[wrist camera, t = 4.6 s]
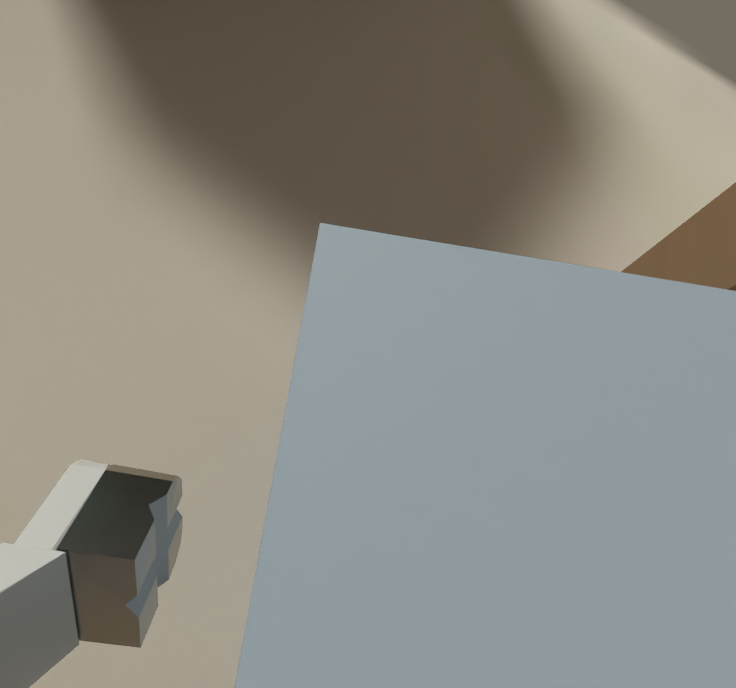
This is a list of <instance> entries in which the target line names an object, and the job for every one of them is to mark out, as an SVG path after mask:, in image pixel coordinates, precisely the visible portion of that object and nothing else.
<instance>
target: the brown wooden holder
mask: <svg viewBox="0 0 736 688" xmlns="http://www.w3.org/2000/svg"><path fill="white" fill-rule="evenodd" d="M622 272H623V273H629V274H635V275H641V276H647V277H654V278H660V279H666V280H672V281H678V282H684V283H690V284H696V285H702V286H708V287H715V288H721V289H727V290H733V291H736V183H734V184H733V185H732V186H731V187H729V188H728V189H727V190H725V191H724V192H723V193H722V194H720V195H719V196H718V197H716V198H715V199H714V200H713V201H711V202H710V203H709V204H707V205H706V206H705V207H704V208H702V209H701V210H700V211H699V212H697V213H696V214H695V215H693V216H692V217H691V218H690V219H688V220H687V221H686V222H684V223H683V224H682V225H681V226H679V227H678V228H677V229H675V230H674V231H673V232H672V233H670V234H669V235H668V236H666V237H665V238H664V239H663V240H661V241H660V242H659V243H657V244H656V245H655V246H654V247H652V248H651V249H650V250H649V251H647V252H646V253H645V254H643V255H642V256H641V257H640V258H638V259H637V260H636V261H634V262H633V263H632V264H631V265H629V266H628V267H627V268H625V269H624V270H623V271H622Z"/></svg>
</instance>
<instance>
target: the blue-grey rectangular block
mask: <svg viewBox="0 0 736 688" xmlns="http://www.w3.org/2000/svg"><path fill="white" fill-rule="evenodd" d="M234 688H736V291H733V290H727V289H721V288H715V287H708V286H702V285H696V284H690V283H684V282H678V281H672V280H666V279H660V278H654V277H647V276H641V275H635V274H629V273H623V272H617V271H611V270H605V269H599V268H592V267H586V266H580V265H574V264H568V263H562V262H556V261H550V260H544V259H538V258H531V257H525V256H519V255H513V254H507V253H501V252H495V251H489V250H483V249H477V248H470V247H464V246H458V245H452V244H446V243H440V242H434V241H428V240H422V239H416V238H409V237H403V236H397V235H391V234H385V233H379V232H373V231H367V230H361V229H355V228H348V227H342V226H336V225H330V224H324V223H320V225H319V231H318V236H317V241H316V247H315V252H314V258H313V263H312V269H311V274H310V280H309V285H308V290H307V296H306V301H305V307H304V312H303V318H302V323H301V328H300V334H299V339H298V345H297V350H296V356H295V361H294V366H293V372H292V377H291V383H290V388H289V394H288V399H287V404H286V410H285V415H284V421H283V426H282V432H281V437H280V443H279V448H278V453H277V459H276V464H275V470H274V475H273V481H272V486H271V491H270V497H269V502H268V508H267V513H266V519H265V524H264V529H263V535H262V540H261V546H260V551H259V557H258V562H257V568H256V573H255V578H254V584H253V589H252V595H251V600H250V606H249V611H248V616H247V622H246V627H245V633H244V638H243V644H242V649H241V654H240V660H239V665H238V671H237V676H236V682H235V687H234Z"/></svg>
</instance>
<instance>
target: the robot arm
mask: <svg viewBox="0 0 736 688" xmlns="http://www.w3.org/2000/svg"><path fill="white" fill-rule="evenodd" d="M181 497H182V480H181V478H180V477H178V476H175V475H169V474H163V473H158V472H152V471H147V470H141V469H136V468H130V467H124V466H119V465H109V464H104V463H98V462H93V461H87V460H82V459H78V460H77V461H75V462H74V463H72V464H71V465H70V466H69V467H68V468H67V470H66V471H65V472H64V474H63V475H62V477H61V478H60V479H59V481H58V482H57V484H56V485H55V486H54V488H53V489H52V491H51V492H50V493H49V495H48V496H47V498H46V499H45V500H44V502H43V503H42V505H41V506H40V507H39V509H38V510H37V512H36V513H35V514H34V516H33V517H32V519H31V520H30V521H29V523H28V524H27V526H26V527H25V528H24V530H23V531H22V533H21V534H20V535H19V537H18V538H17V540H16V541H15V542H14V544H10V543H1V544H0V688H29V687H30V686H31V685H32V684H33V683H35V682H36V681H37V680H38V679H39V678H40V677H42V676H43V675H44V674H45V673H46V672H47V671H49V670H50V669H51V668H52V667H53V666H54V665H56V664H57V663H58V662H59V661H60V660H61V659H63V658H64V657H65V656H66V655H67V654H68V653H70V652H71V651H72V650H73V649H74V648H75V647H77V646H78V645H79V640H80V641H88V642H97V643H105V644H114V645H122V646H131V647H139V648H141V646H142V643H143V641H144V638H145V636H146V633H147V631H148V629H149V626H150V624H151V621H152V619H153V617H154V614H155V612H156V609H157V607H158V589H157V587H159V586H160V585H162V584H163V583H164V582H166V581H167V580H169V577H170V575H171V572H172V570H173V567H174V565H175V562H176V558H177V554H178V550H179V547H180V543H181V535H182V515H181V514H180V513H179V512H178V511H177V509H176V508H177V506H178V504H179V501H180V499H181Z"/></svg>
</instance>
